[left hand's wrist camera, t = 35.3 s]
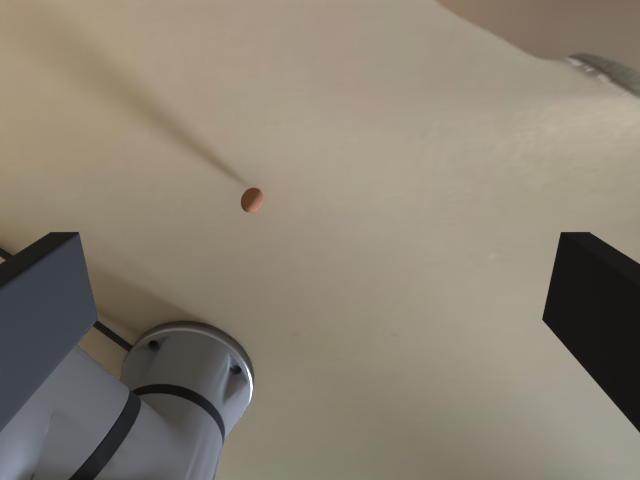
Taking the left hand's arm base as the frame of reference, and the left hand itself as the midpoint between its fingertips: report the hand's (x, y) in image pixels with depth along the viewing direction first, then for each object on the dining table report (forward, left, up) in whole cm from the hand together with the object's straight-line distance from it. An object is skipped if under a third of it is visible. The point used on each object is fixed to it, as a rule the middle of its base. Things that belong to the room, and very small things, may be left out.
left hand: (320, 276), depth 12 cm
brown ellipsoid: (-4, -9, -33) cm, 34 cm away
